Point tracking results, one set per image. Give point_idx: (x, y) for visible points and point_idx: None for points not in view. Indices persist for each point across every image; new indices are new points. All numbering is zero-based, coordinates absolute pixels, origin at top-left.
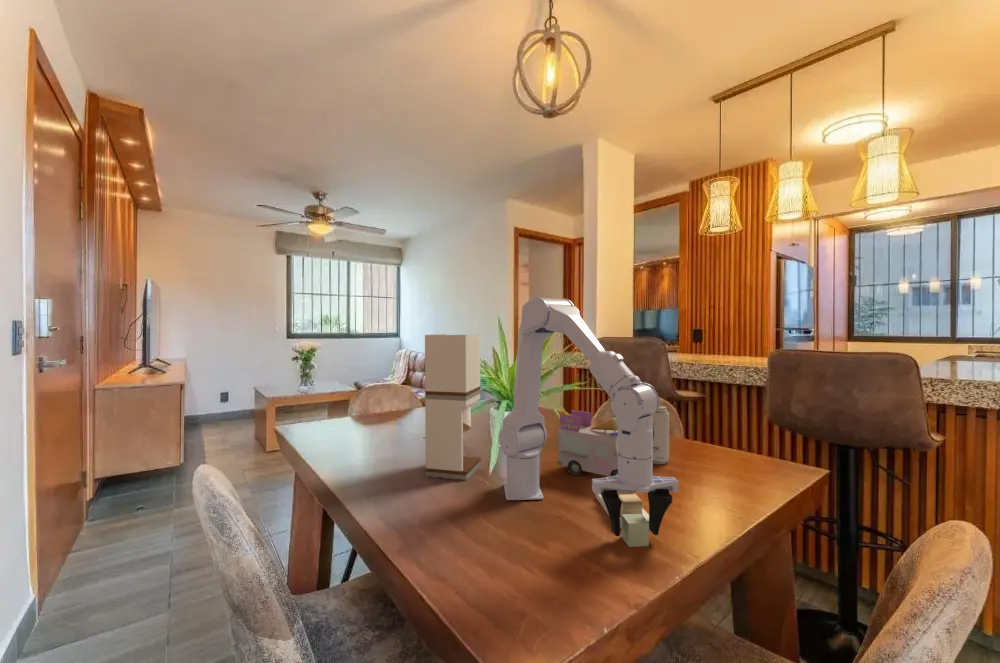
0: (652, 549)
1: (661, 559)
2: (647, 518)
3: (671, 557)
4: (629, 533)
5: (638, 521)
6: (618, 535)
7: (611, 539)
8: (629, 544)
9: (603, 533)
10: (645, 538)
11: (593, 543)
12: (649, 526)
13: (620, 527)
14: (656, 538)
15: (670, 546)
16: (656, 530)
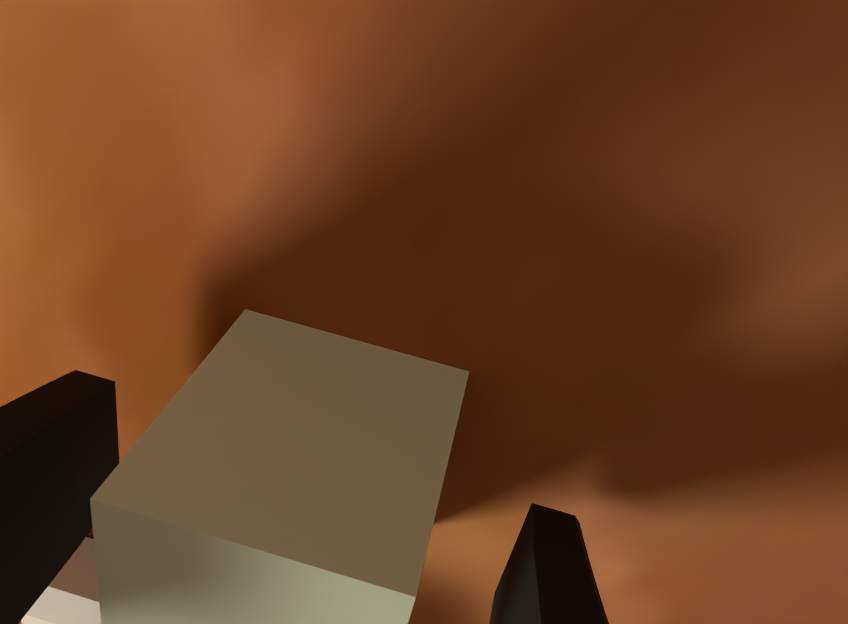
0: (238, 241)
1: (238, 12)
2: (60, 616)
3: (95, 16)
4: (430, 475)
5: (229, 580)
6: (549, 513)
7: None
8: (455, 383)
9: None
10: (245, 370)
11: (797, 541)
12: None
13: None
14: None
15: (21, 226)
16: (53, 402)
